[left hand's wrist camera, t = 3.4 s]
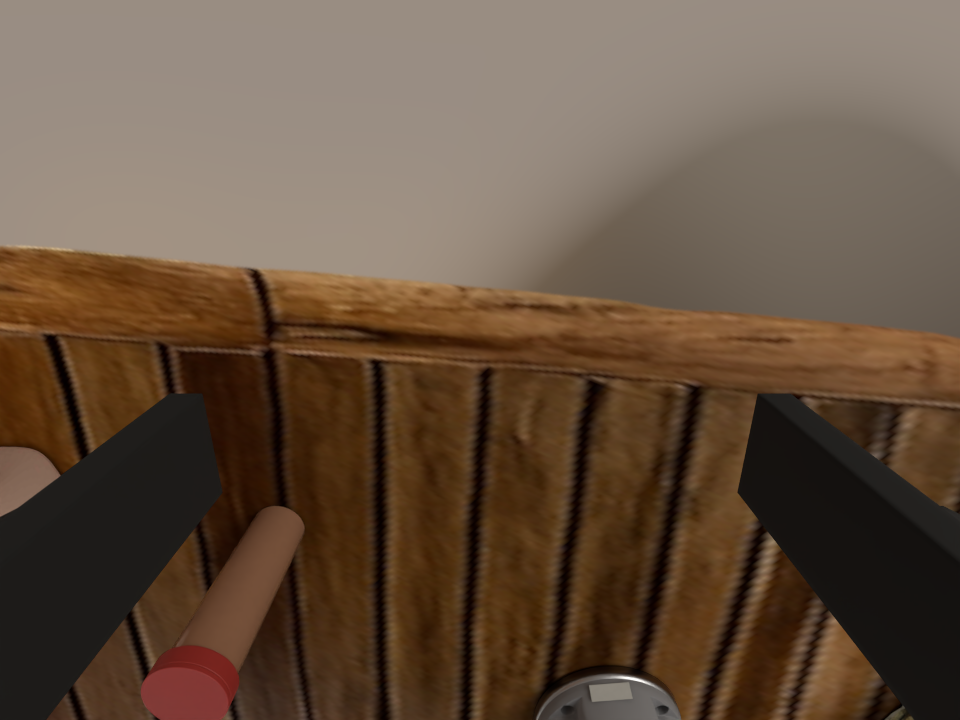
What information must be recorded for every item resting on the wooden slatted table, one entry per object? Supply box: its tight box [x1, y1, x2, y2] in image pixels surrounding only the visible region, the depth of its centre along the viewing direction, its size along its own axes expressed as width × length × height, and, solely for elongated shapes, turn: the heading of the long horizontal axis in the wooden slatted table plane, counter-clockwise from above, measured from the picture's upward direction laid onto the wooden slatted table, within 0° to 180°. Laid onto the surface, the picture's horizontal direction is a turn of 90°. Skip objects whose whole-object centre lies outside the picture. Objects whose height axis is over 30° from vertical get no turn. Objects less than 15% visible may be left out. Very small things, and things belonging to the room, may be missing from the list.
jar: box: [172, 506, 304, 674], centre depth 40 cm, size 5×5×16 cm
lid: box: [141, 645, 239, 720], centre depth 33 cm, size 5×5×2 cm
